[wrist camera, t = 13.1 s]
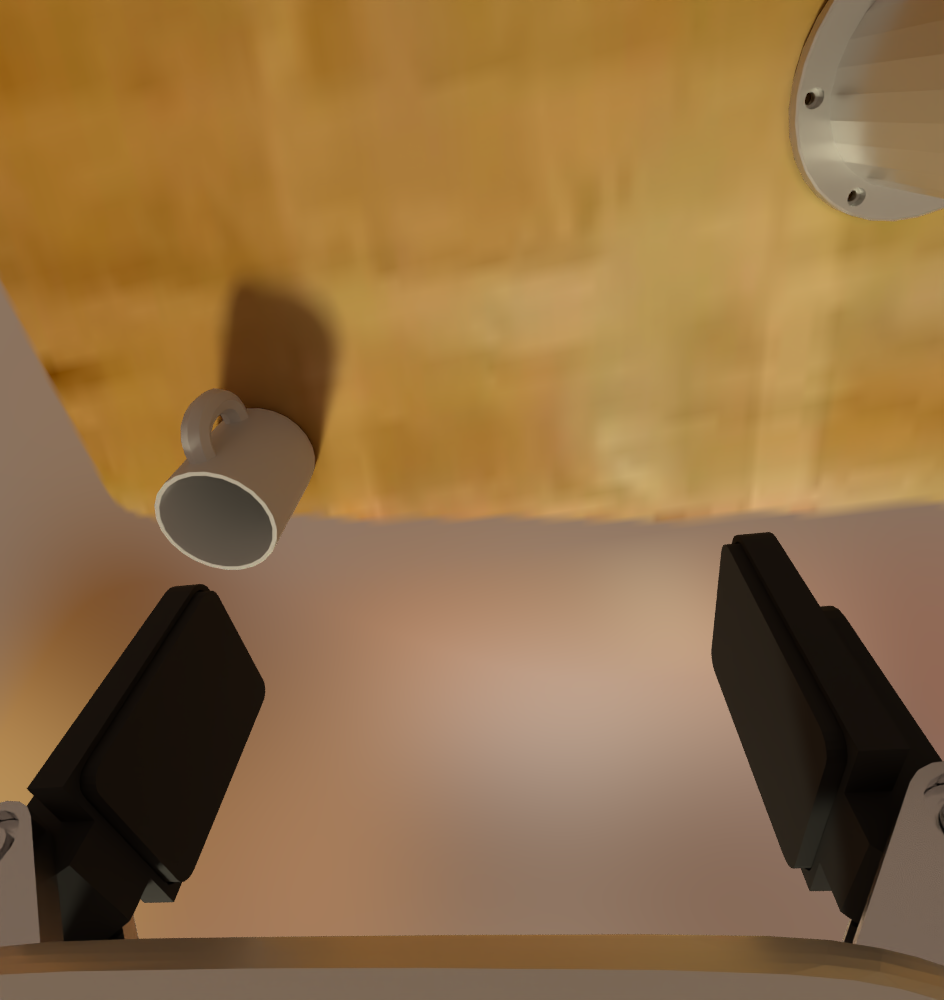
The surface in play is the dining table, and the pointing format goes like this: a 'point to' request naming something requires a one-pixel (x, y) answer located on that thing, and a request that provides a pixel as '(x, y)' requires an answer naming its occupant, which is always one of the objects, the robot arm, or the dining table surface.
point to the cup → (233, 482)
